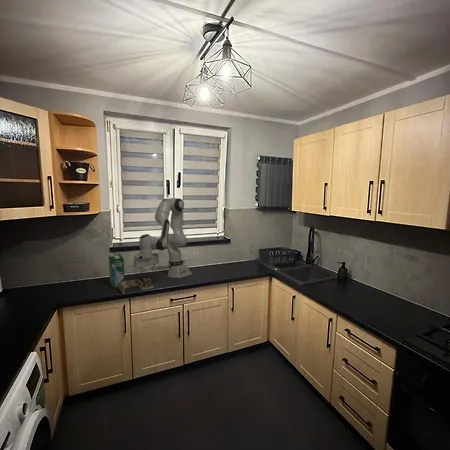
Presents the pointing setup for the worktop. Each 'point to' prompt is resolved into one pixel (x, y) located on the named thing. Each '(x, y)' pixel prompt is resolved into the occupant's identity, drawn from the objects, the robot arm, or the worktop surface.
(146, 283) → the walnut block
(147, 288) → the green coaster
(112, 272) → the milk carton
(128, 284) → the croissant
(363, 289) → the worktop surface
